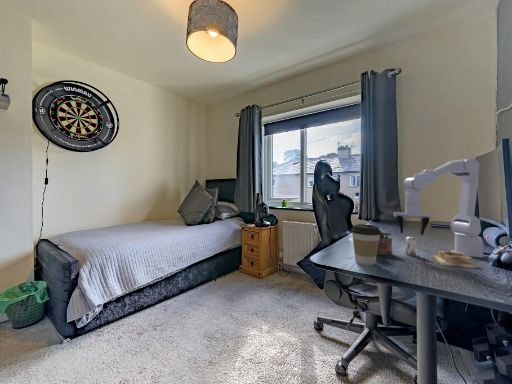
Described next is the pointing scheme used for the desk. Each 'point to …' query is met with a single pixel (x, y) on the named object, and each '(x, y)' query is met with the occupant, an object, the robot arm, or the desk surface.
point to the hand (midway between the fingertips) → (411, 233)
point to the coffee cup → (365, 243)
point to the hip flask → (385, 244)
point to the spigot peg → (411, 246)
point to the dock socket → (455, 259)
